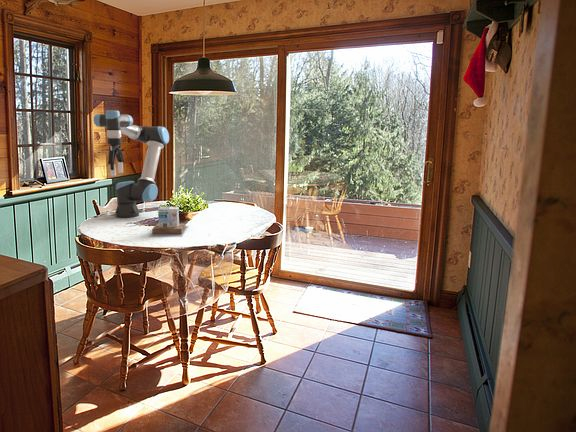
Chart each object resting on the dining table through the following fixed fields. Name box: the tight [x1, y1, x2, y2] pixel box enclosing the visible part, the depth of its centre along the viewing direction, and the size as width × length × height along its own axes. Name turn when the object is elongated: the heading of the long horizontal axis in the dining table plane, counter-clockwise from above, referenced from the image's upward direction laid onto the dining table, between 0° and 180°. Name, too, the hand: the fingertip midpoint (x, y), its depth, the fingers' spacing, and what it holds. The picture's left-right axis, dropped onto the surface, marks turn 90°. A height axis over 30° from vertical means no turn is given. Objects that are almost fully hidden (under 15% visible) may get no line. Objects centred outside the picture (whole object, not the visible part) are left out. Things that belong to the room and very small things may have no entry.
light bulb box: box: [157, 206, 180, 227], centre depth 234 cm, size 11×7×11 cm, turn 98°
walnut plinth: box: [151, 222, 187, 234], centre depth 235 cm, size 14×16×3 cm
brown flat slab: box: [148, 225, 189, 238], centre depth 236 cm, size 24×18×1 cm
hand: (117, 174), depth 242 cm, fingers open, 13 cm apart
